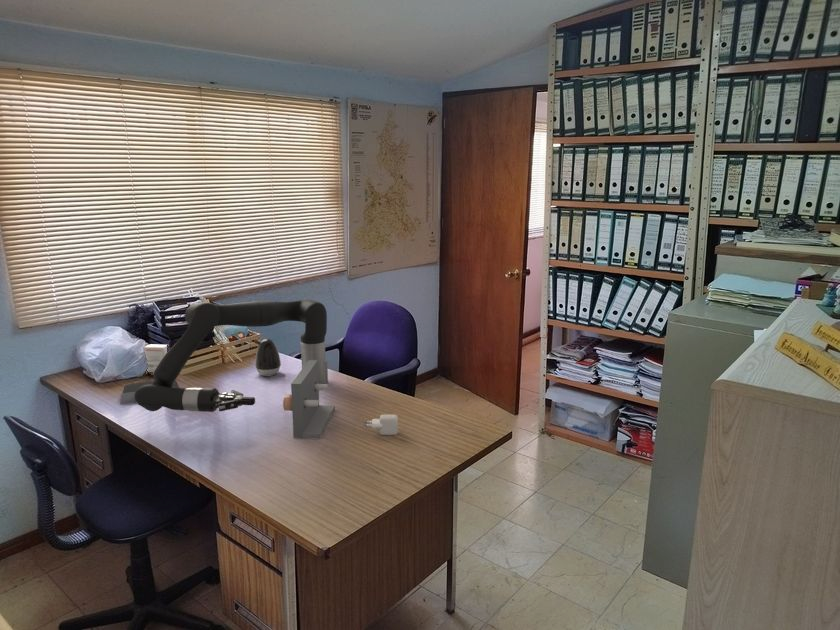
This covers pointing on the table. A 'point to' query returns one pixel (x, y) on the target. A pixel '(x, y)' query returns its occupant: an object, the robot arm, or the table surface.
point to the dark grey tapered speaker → (267, 358)
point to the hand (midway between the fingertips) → (254, 401)
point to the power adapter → (385, 424)
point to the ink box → (154, 355)
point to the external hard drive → (131, 389)
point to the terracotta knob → (288, 403)
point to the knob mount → (308, 417)
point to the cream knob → (321, 386)
